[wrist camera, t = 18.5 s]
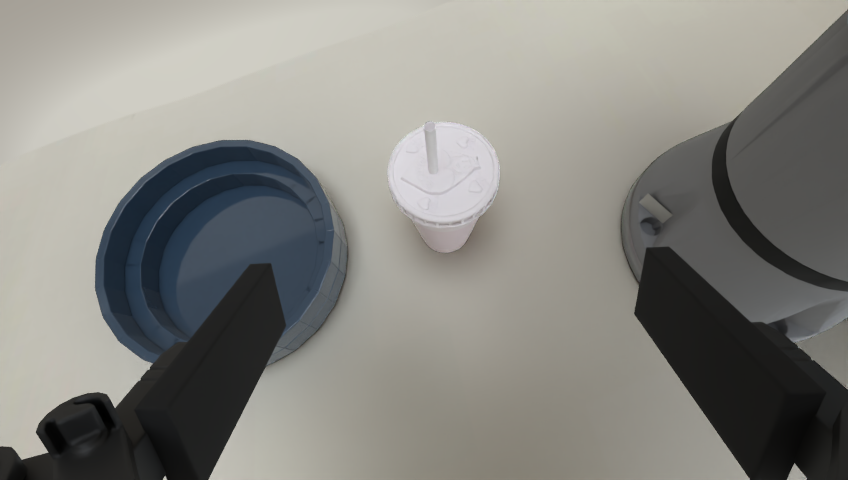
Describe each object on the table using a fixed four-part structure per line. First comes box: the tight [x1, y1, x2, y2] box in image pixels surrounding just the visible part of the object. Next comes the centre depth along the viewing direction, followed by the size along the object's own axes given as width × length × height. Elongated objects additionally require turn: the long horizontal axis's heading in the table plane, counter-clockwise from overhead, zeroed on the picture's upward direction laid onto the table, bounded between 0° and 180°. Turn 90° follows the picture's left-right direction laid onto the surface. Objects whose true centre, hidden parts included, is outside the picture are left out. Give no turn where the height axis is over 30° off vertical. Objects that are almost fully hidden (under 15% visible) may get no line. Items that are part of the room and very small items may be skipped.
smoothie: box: [387, 121, 500, 253], centre depth 27 cm, size 6×6×14 cm
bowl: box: [95, 140, 348, 366], centre depth 31 cm, size 16×16×4 cm
